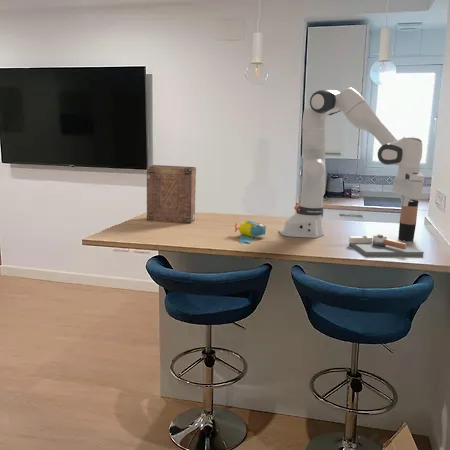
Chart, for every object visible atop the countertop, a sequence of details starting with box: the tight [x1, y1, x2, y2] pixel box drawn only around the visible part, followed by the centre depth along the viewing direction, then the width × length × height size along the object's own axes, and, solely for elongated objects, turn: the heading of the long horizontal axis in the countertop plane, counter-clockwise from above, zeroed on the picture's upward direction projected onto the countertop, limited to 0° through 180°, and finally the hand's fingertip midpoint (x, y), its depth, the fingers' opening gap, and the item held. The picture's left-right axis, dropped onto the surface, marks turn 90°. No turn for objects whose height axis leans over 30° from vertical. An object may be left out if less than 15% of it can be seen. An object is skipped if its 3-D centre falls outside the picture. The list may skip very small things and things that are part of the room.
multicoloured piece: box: [372, 234, 408, 250], centre depth 213 cm, size 16×6×4 cm, turn 37°
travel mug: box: [397, 198, 419, 243], centre depth 236 cm, size 8×8×20 cm
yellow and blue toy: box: [234, 220, 267, 245], centre depth 233 cm, size 28×9×15 cm
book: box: [146, 164, 197, 224], centre depth 263 cm, size 25×9×30 cm, turn 79°
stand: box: [348, 235, 424, 258], centre depth 216 cm, size 27×20×5 cm
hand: (404, 205), depth 210 cm, fingers closed
